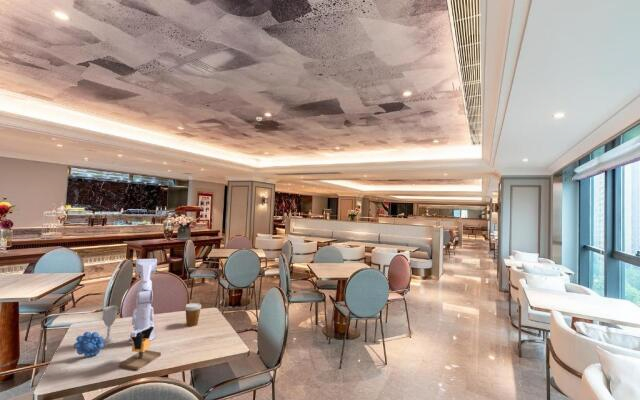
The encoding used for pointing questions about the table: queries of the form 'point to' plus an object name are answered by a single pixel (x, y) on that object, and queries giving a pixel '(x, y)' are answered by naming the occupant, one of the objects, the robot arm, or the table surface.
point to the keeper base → (139, 360)
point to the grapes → (89, 344)
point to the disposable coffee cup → (192, 313)
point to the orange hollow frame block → (142, 345)
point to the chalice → (109, 321)
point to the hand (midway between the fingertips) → (141, 346)
